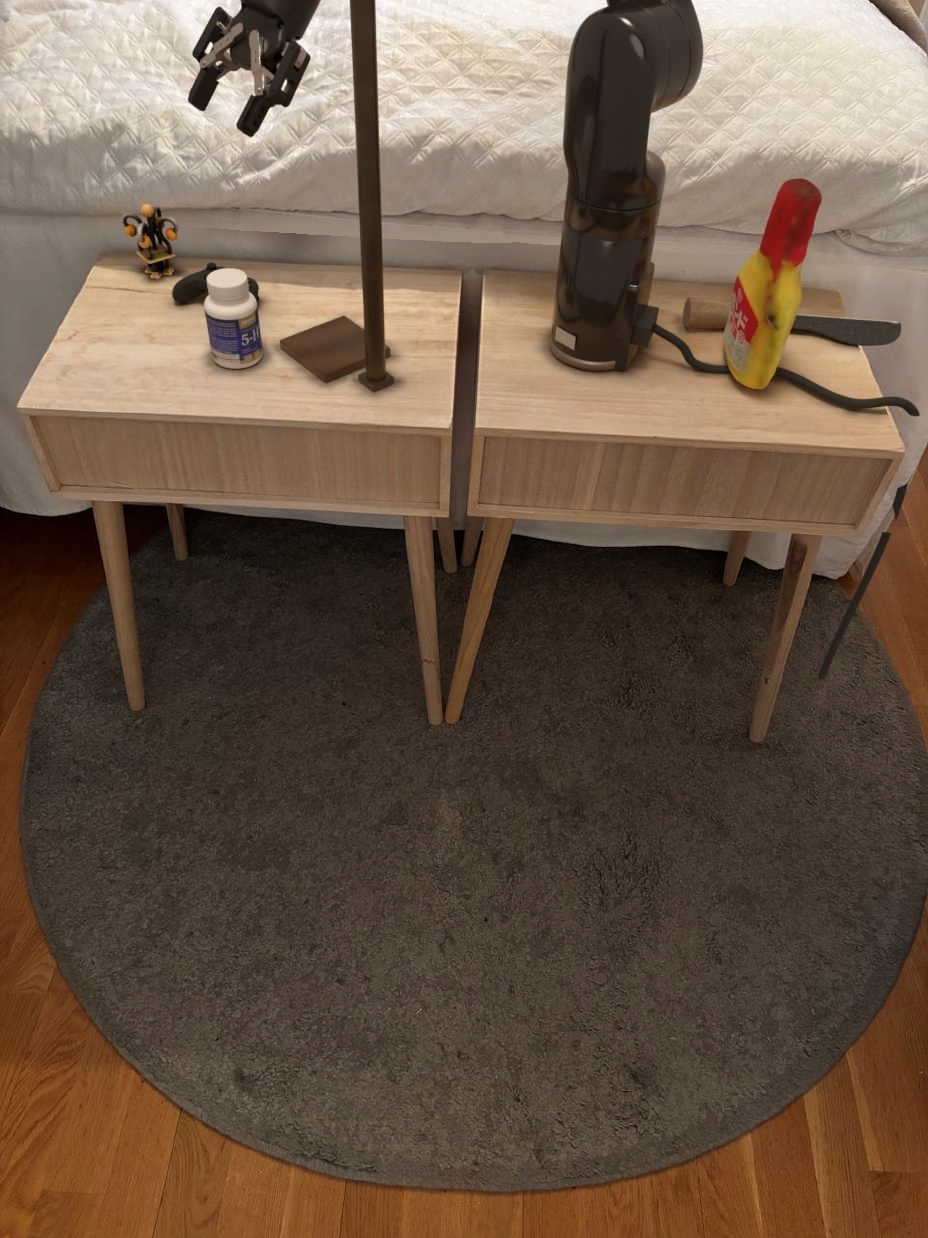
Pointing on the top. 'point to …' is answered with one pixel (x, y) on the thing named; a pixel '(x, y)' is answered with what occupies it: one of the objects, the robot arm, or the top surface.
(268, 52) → the robot arm
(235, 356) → the pill bottle
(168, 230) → the decorative sculpture
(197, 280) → the game controller
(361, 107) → the display stand
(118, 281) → the top surface
